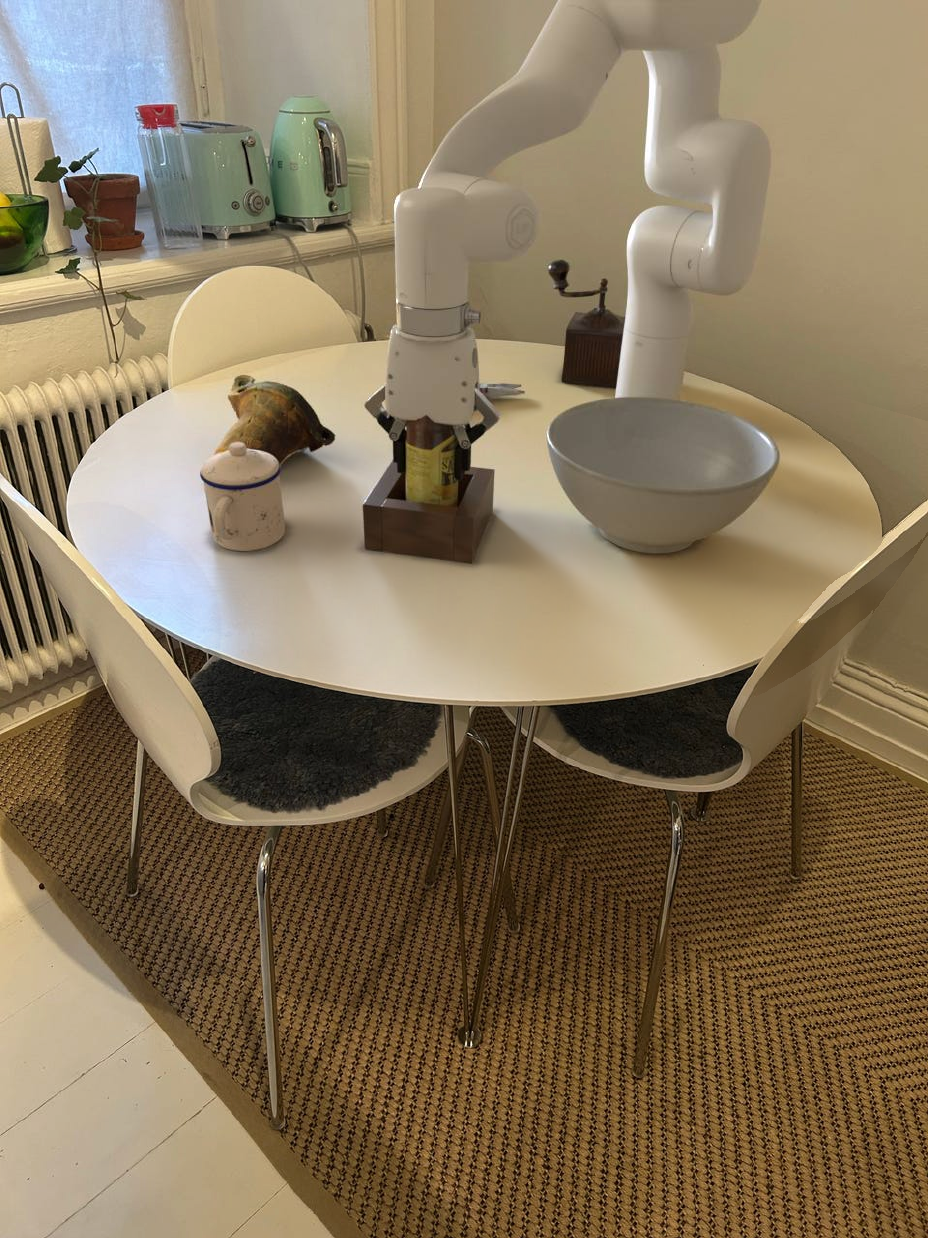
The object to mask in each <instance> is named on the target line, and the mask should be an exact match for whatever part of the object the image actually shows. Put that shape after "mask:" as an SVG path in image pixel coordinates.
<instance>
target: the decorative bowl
mask: <svg viewBox="0 0 928 1238" xmlns="http://www.w3.org/2000/svg"><path fill="white" fill-rule="evenodd" d="M546 445H547V450H548V455H549V459H550V462H551V465H552V469H553V471H554V473H555V476H556V479H557V481H558V483H559V485H560V487H561V489H562V490H563V492H564V494H565V495H566V497H567V499H568V500H569V501H570V503H571V504H572V505H573V507H574V508H575V509H576V510H577V511H578V512H579V513H580V515H582V516H583V517H584V518H585V519H586V520H587V521H588V522H590V523H591V524H592V525H594V526H595V527H597V529H598V531H599V533H600V534H601V536H602V537H604V538H605V539H606V540H607V541H609V542H611V543H612V544H614V545H616V546H617V547H621V548H623V549H626V550H629V551H633V552H637V553H645V554H670V553H676V552H680V551H682V550H685V549H687V548H689V547H690V546H692V545H693V544H695V542H696V541H698V540H702V539H704V538H707V537H710V536H712V535H714V534H716V533H718V532H719V531H721V530H723V529H724V528H726V527H727V526H729V525H731V524H732V523H733V522H735V521H736V520H737V519H738V518H739V517H741V516H742V515H743V514H744V513H745V512H746V511H748V509H749V508H750V507H751V506H752V505H753V504H754V503H755V502H756V501H757V499H758V498H759V497H760V496H761V495H762V493H763V491H765V489H766V487H767V486H768V484H769V483H770V481H772V478H773V476H774V475H775V473H776V470H777V469H778V467H779V464H780V460H781V459H780V457H781V456H780V450H779V447H778V445H777V443H776V442H775V440H774V439H773V437H772V436H770V434H768V433H767V432H766V431H765V430H764V429H762V428H761V427H759V426H758V425H756V424H755V423H753V422H751V421H750V420H747V419H745V418H743V417H741V416H739V415H736V414H734V413H731V412H729V411H726V410H723V409H719V408H717V407H714V406H710V405H706V404H701V403H697V402H692V401H687V400H682V399H680V400H674V399H666V398H654V397H619V398H615V397H608V398H602V399H596V400H592V401H588V402H583V403H579V404H576V405H574V406H572V407H570V408H567V409H565V410H563V411H562V412H560V413H559V414H558V415H556V416H555V417H554V418H553V419H552V420H551V422H550V423H549V424H548V427H547V430H546Z"/></svg>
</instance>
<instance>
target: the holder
mask: <svg viewBox="0 0 928 1238" xmlns="http://www.w3.org/2000/svg"><path fill="white" fill-rule="evenodd" d="M495 472H496V471H495V469H493V468H486V467H477V466H470V470H469V471H465V473H464V475H463V477H462V479H461V480H458V504H457V507H453V506H445V505H437V504H429V503H421V502H412V501H406V470H405V472H403V473H398V472H397V463H394V462H393V459H392V460H391V461H390V463H389V464H388V466H387V467H386V469H385V470H384V472H383V473H382V475H381V476H380V477H379V479H378V481H377V482H376V484H375V485H374V487H373V488H372V489H371V491H370V493H369V494H368V496H367V497H366V499H365V500H364V501H363V503H362V517H363V519H362V520H363V538H364V540H363V541H364V550H367V551H368V550H369V551H375V552H382V553H389V554H390V553H391V554H398V555H405V556H412V557H413V556H414V557H421V558H429V559H437V560H443V561H449V562H450V561H451V562H457V563H465V564H473V562H474V560H475V557H476V554H477V552H478V549H479V547H480V546H481V545H480V544H481V542H482V540H483V537H484V534H485V532H486V529H487V527H488V524H489V522H490V520H491V518H492V514H493V511H494V510H493V509H494V491H495V489H494V488H495Z"/></svg>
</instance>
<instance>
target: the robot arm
mask: <svg viewBox="0 0 928 1238" xmlns="http://www.w3.org/2000/svg"><path fill="white" fill-rule="evenodd" d="M761 2H762V0H557V1H556V2H555V3H556V4H555V5H554V7H553V8H552V10H551V12H550V14H549V16H548V18H547V19H546V21H545V23H544V25H543V27H542V29H541V30H540V33H539V34H538V36H537V38H536V40H535V42H534V43H533V45H532V46H531V48H530V50H529V52H528V54H527V55H526V57H525V59H524V61H523V63H522V65H521V66H520V68H519V70H518V71H517V72H516V73H515V74H514V75H513V76H512V77H511V78H510V79H509V80H507V81H506V82H504V83H503V84H501V85H500V86H499V87H497V88H495V90H493V91H492V92H490V94H488V95H487V96H486V97H484V98H483V99H482V100H480V102H478V103H477V104H476V105H475V106H474V107H472V108H471V109H470V110H469V111H467V112H466V113H465V114H464V115H463V116H462V117H461V118H460V119H458V121H457V122H456V123H455V124H454V125H452V127H451V129H450V130H449V131H448V132H447V133H446V135H445V136H444V138H443V139H442V141H441V142H440V143H439V146H438V147H437V149H436V151H435V153H434V155H433V157H432V158H431V160H430V162H429V164H428V166H427V167H426V169H425V171H424V173H423V175H422V178H421V181H420V182H419V185H418V187H411V188H408V189H405V190H403V191H401V192H400V193H399V194H398V195H397V196H396V199H395V202H394V206H393V207H394V208H393V209H394V211H393V213H394V214H393V216H394V218H393V219H394V222H393V223H394V257H395V258H394V259H395V260H394V261H395V263H394V265H395V269H394V270H395V300H396V301H395V302H396V303H395V306H396V307H395V309H396V310H395V311H396V312H395V313H396V323H395V324H394V325H393V326H392V328H391V331H390V335H389V339H388V347H387V357H386V368H385V381H384V382H385V383H384V384H383V385H382V386H381V387H380V388H379V389H377V391H375V392H374V394H372V395H370V397H369V398H368V399H367V400H366V401H365V403H364V408H365V409H366V411H367V412H368V413H369V414H370V415H371V416H372V417H373V418H374V419H376V422H377V423H378V425H379V426H380V427H381V428H382V429H383V431H385V432H386V434H388V439H389V440H390V441H392V460H393V462H394V463H397V472H398V473H403V472H405V470H406V453H405V439H406V434H407V433H406V422H407V421H411V420H417V419H419V418H422V417H423V416H425V415H427V416H428V417H429V418H431V419H432V420H433V421H434V422H435V423H440V424H445V425H452V427H453V429H454V432H455V434H456V436H457V439H458V445H457V447H456V449H455V478H456V480H461V479H462V477H463V475H464V473H465V471H469V470H470V467H472V466H471V465H472V444H474V443H475V442H477V441H478V440H479V439H480V438H482V437H483V436H484V434H485V433H486V432H488V431H489V430H491V428H493V427H494V426H495V425H496V424H497V423H498V422H499V421H500V419H501V416H502V415H501V412H500V411H499V410H498V409H497V408H496V407H495V406H494V405H493V403H492V402H491V401H490V400H489V399H488V397H485V396H484V395H483V394H482V393H481V392H480V391H479V384H480V368H479V367H480V366H479V353H478V345H477V338H476V333H475V329H473V328H472V327H469V326H470V325H473V324H478V325H479V324H480V323H481V319H482V311H481V310H480V309H475V308H471V307H472V306H471V304H470V300H469V298H468V297H469V295H468V293H469V266H470V265H471V264H473V263H505V262H510V261H513V260H516V259H518V258H520V257H522V256H523V255H524V254H525V253H526V252H527V251H529V249H530V248H531V247H532V246H533V244H534V243H535V241H536V239H537V237H538V235H539V230H540V226H541V225H540V224H541V216H540V210H539V207H538V205H537V202H536V201H535V199H534V198H533V197H532V195H531V194H530V193H529V192H527V191H526V190H525V189H524V188H522V187H520V186H518V185H515V184H512V183H509V182H503V181H499V180H493V179H489V178H487V177H488V176H489V174H490V173H492V171H493V170H494V169H496V168H497V167H498V166H499V165H500V164H502V163H503V162H504V161H506V160H507V159H509V158H511V157H512V156H514V155H516V154H518V153H519V152H522V151H524V150H527V149H529V148H532V147H535V146H538V145H541V144H544V143H548V142H550V141H553V140H556V139H558V138H560V137H562V136H566V135H567V134H570V133H571V132H574V131H575V130H577V129H578V128H580V127H581V126H582V125H583V124H584V123H585V121H586V120H587V118H588V117H589V114H590V113H591V111H592V109H593V107H594V105H595V104H596V102H597V100H598V99H599V97H600V94H601V93H602V91H603V90H604V87H605V86H606V84H607V82H608V80H609V78H610V77H611V75H612V73H613V71H614V69H616V67H617V64H618V63H619V61H620V59H621V57H622V55H623V54H624V53H626V52H628V51H642V53H643V56H644V59H645V61H646V66H647V70H648V78H649V79H648V103H647V104H648V105H647V119H646V133H645V145H644V146H645V147H644V169H643V170H644V179H645V182H646V183H645V184H646V185H647V186H648V188H649V189H650V190H651V191H652V192H653V193H655V194H658V195H661V196H663V197H667V198H672V199H675V200H676V199H677V200H683V201H688V202H692V203H693V202H694V203H699V204H704V205H710V206H711V207H712V208H711V209H712V212H708V211H704V210H700V209H695V208H694V209H693V208H687V207H683V206H676V205H666V204H665V205H656V206H652V207H649V208H646V209H645V210H644V211H642V212H641V213H639V215H638V216H637V217H636V218H635V219H634V221H633V222H632V224H631V227H630V229H629V230H628V236H627V239H626V240H627V241H626V264H627V265H626V266H627V297H626V308H625V309H626V310H625V316H624V317H625V325H624V331H623V339H622V347H621V355H620V363H619V371H618V379H617V386H616V388H615V396H614V398H619V397H654V398H666V399H674V400H681V395H682V394H681V393H682V388H683V382H684V375H685V370H686V365H687V359H688V353H689V347H690V342H691V337H692V336H691V335H692V331H693V325H694V310H693V309H694V307H693V303H692V299H691V295H690V292H689V290H691V291H695V292H700V293H704V294H708V295H709V294H710V295H714V296H723V297H725V296H730V295H734V294H736V293H738V292H739V291H741V290H742V289H743V288H744V287H745V285H746V284H747V283H748V281H749V279H750V277H751V275H752V273H753V270H754V267H755V264H756V261H757V255H758V253H759V252H758V251H759V246H760V239H761V233H762V227H763V220H764V215H765V206H766V203H767V202H766V201H767V195H768V189H769V182H770V176H771V175H770V174H771V168H772V167H771V165H772V151H771V145H770V141H769V138H768V135H767V134H766V132H765V130H764V129H763V128H762V127H761V126H760V125H758V124H756V123H754V122H751V121H747V120H743V119H733V118H725V117H721V116H720V112H719V110H720V109H719V108H720V107H719V104H720V91H721V80H722V79H721V78H722V62H721V57H720V54H719V53H720V52H719V49H718V47H717V46H718V45H722V44H726V43H729V42H732V41H734V40H736V39H738V38H739V37H740V36H742V34H744V33H745V32H746V30H747V29H748V28H749V27H750V26H751V24H752V23H753V21H754V19H755V18H756V15H757V13H758V12H759V9H760V6H761ZM383 402H385V403H384V404H385V407H384V405H383ZM474 412H479V413H480V414H481V415H482V417H483V418H481V420H479V421H478V422H476V423H475V424H474V425H473V426H472V423H471V422H472V420H473V414H474Z"/></svg>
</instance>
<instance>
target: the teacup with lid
mask: <svg viewBox="0 0 928 1238" xmlns="http://www.w3.org/2000/svg"><path fill="white" fill-rule="evenodd" d="M213 455H214V454H213ZM213 455H212V456H210V457H209V458H207V459H206V460H205V461H204V462H203V463H202V465H201V468H200V472H199V476H200V479H201V480H202V481H203V487H204V493H205V499H206V505H207V512H208V518H209V523H210V530H211V535H212V538H213V541H214V542H215V543H216V544H217V545H219V546H220V547H222V548H224V549H227V550H231V551H236V552H237V551H238V552H251V551H252V552H253V551H258V550H262V549H265V548H268V547H272V546H274V545H275V544H276V543H278V542H279V541H281V539H282V538H283V537H284V535H285V533H286V523H285V522H286V521H285V513H284V505H283V504H284V503H283V495H282V486H281V478H280V474H281V471H282V468H281V465H280V464H279V462H278V461H277V459H276V458H275V457H274V456H272V455H271V454H269V453H266V452H263V451H259V450H252V449H247V447H246V445H245V444H244V443H242V442H234V443H232V444H230V445H229V450H227V451H225V452H222V453H219V454H216V455H214V456H213Z"/></svg>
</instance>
